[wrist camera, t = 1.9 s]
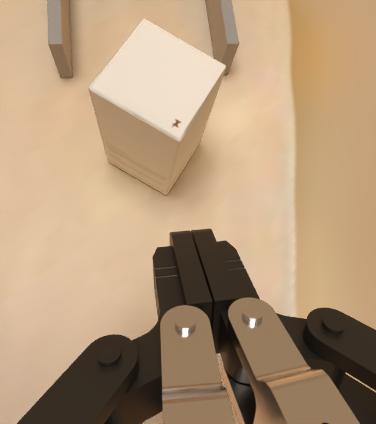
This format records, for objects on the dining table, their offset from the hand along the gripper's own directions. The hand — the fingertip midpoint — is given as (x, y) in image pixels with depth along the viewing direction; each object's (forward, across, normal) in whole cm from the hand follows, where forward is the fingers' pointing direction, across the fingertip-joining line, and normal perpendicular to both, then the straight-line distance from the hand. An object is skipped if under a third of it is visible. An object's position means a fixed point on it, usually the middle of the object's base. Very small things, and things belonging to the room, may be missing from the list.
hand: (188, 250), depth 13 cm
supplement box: (+24, -1, +5) cm, 25 cm away
